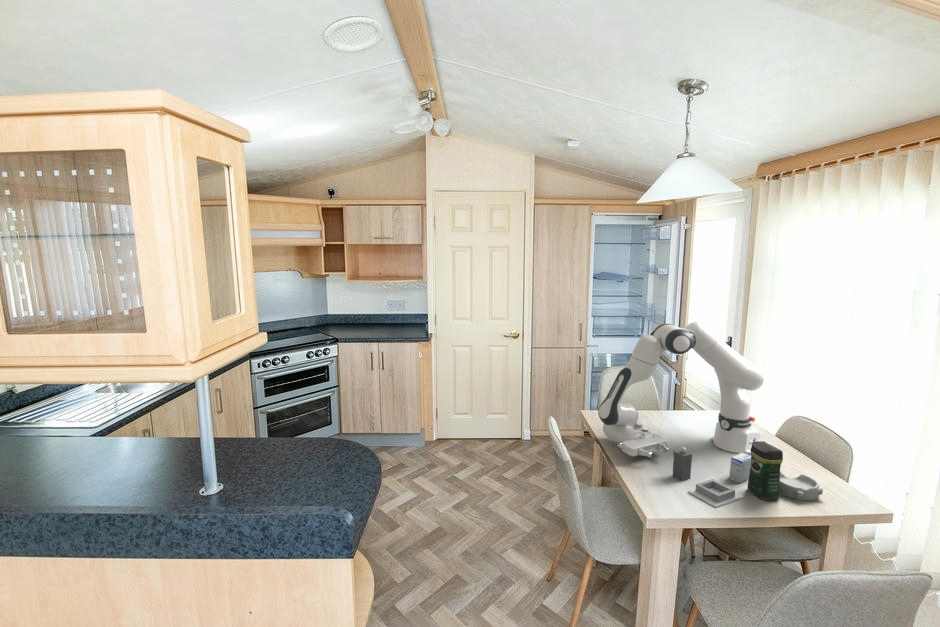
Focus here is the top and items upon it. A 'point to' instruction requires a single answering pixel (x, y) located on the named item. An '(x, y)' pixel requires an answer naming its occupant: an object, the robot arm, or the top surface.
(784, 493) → the dish
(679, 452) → the plug
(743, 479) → the medicine box
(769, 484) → the coffee jar
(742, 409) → the robot arm
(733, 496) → the socket plate
